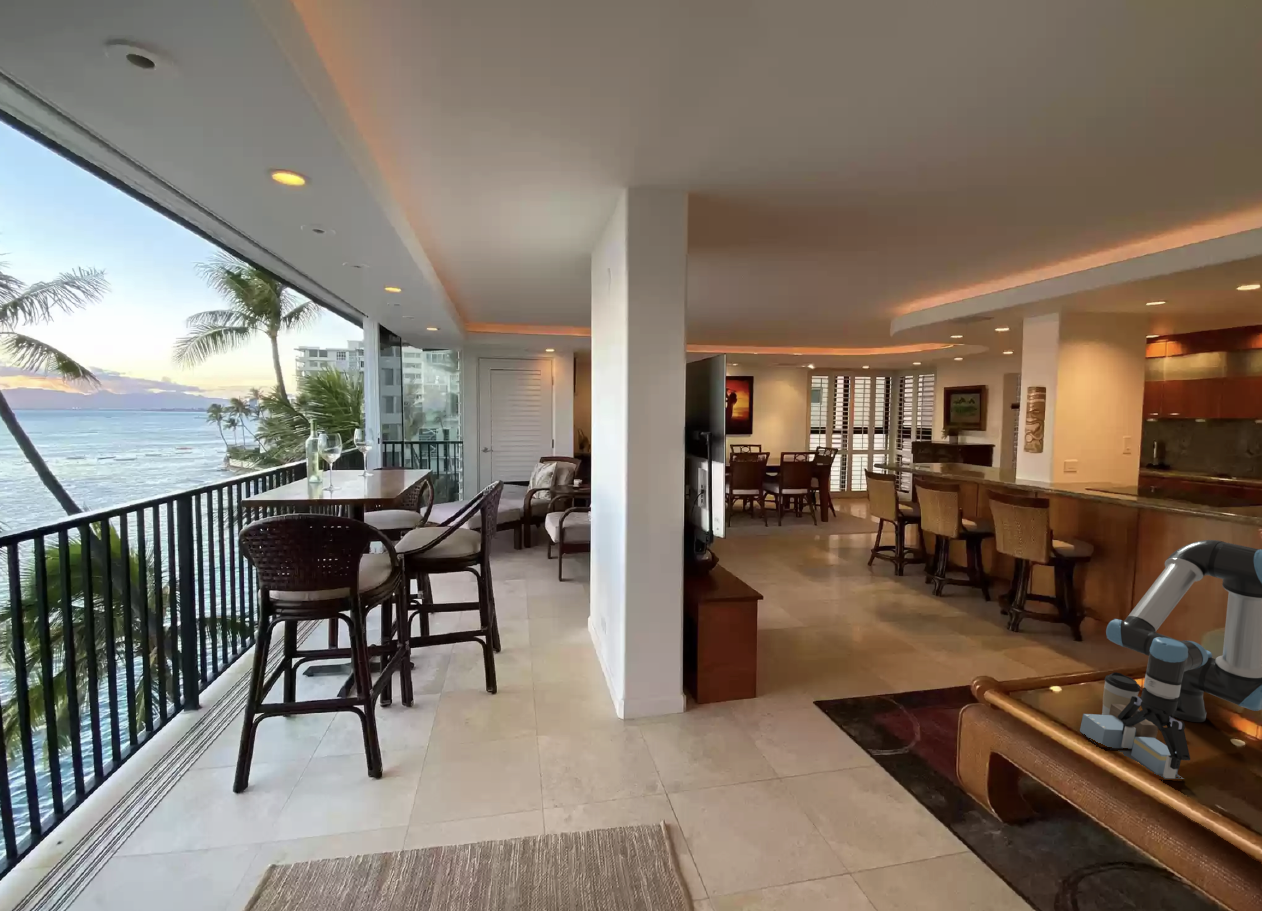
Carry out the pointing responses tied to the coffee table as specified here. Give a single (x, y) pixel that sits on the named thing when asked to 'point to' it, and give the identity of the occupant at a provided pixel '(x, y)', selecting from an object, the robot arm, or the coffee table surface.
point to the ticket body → (1103, 729)
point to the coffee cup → (1118, 691)
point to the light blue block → (1151, 753)
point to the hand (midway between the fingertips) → (1146, 761)
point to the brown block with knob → (1142, 728)
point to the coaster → (1128, 754)
